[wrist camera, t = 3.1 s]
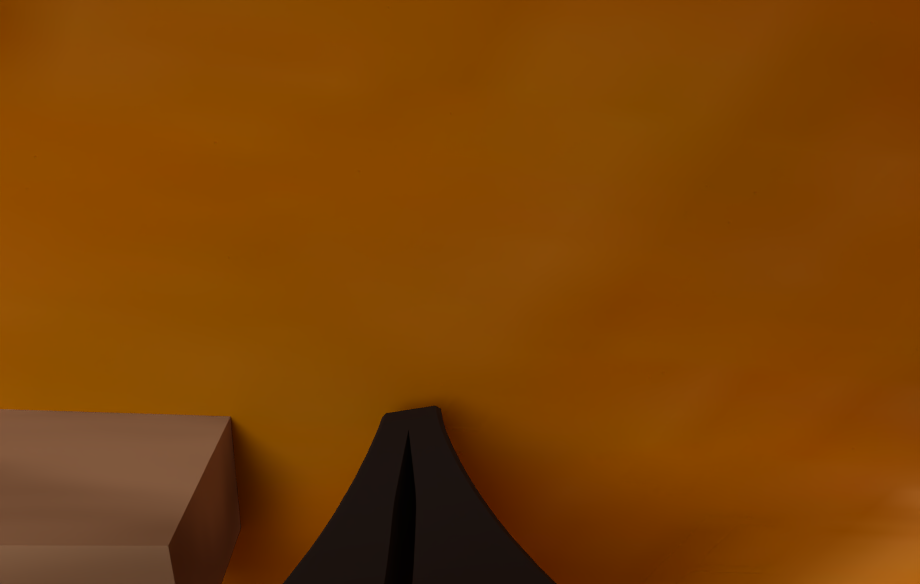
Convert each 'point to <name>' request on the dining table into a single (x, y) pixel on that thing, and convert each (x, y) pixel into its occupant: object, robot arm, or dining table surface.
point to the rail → (116, 498)
